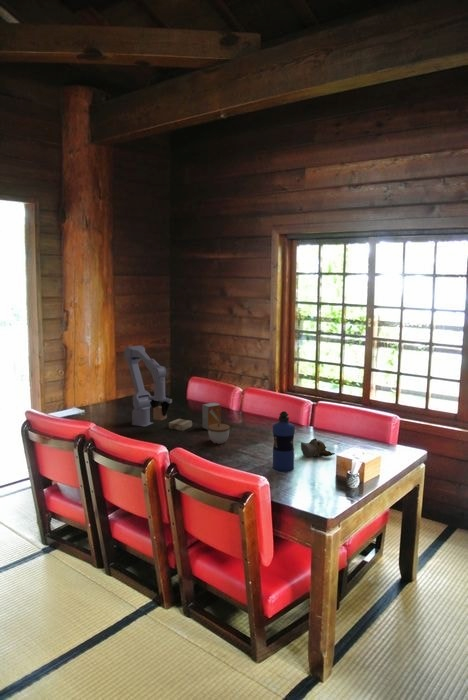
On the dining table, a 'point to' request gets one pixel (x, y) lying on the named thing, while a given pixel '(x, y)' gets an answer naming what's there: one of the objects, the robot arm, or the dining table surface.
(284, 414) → the water bottle
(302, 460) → the dining table surface
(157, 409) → the terracotta block
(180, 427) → the maple base block
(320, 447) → the ceramic sculpture
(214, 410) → the small box
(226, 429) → the lidded jar
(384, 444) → the dining table surface
